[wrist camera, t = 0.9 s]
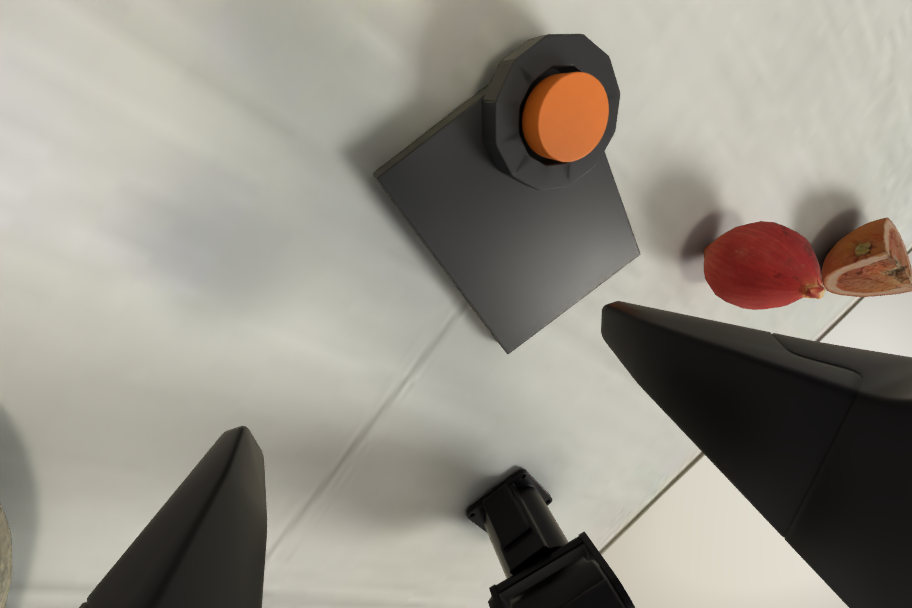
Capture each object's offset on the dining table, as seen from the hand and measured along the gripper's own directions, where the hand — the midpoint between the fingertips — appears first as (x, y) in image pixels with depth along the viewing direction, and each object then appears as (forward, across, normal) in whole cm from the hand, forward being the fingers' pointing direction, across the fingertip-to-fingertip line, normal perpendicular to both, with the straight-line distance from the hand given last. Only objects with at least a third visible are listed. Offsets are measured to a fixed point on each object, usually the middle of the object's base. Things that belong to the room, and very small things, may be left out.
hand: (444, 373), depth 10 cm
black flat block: (+13, -9, +2) cm, 16 cm away
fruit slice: (+13, -39, +12) cm, 43 cm away
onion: (+14, -24, +8) cm, 29 cm away
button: (+11, -10, -4) cm, 15 cm away
